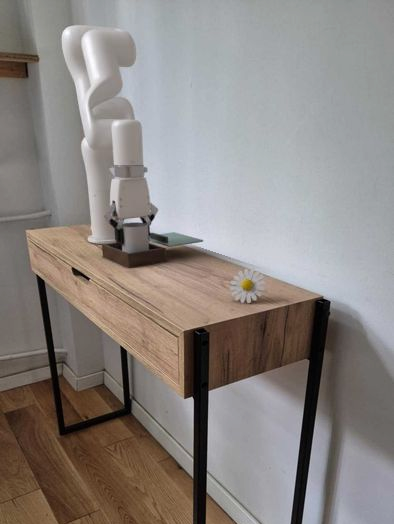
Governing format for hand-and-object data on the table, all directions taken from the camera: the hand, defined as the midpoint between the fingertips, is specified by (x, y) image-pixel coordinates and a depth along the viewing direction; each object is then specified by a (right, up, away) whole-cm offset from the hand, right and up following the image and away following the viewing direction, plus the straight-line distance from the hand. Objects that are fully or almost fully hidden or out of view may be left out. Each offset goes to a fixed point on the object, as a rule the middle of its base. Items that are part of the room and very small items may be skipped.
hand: (133, 241), depth 132 cm
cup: (0, -4, +2) cm, 5 cm away
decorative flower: (+26, -18, -26) cm, 41 cm away
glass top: (+10, +2, +8) cm, 13 cm away
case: (0, -5, +2) cm, 5 cm away
